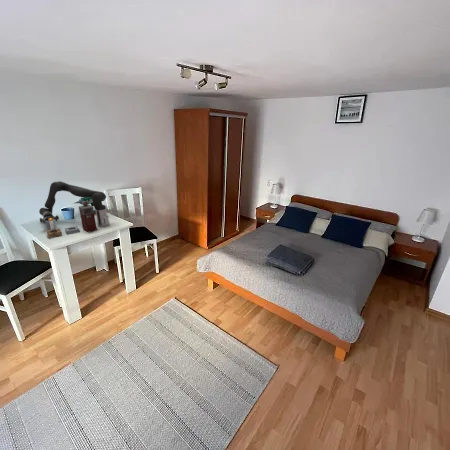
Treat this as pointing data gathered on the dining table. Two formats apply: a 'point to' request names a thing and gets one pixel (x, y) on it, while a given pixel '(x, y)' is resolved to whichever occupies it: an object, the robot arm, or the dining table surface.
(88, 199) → the power tool
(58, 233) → the walnut rack
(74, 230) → the socket block
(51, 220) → the steel peg
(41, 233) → the dining table surface
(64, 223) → the dining table surface
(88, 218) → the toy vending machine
